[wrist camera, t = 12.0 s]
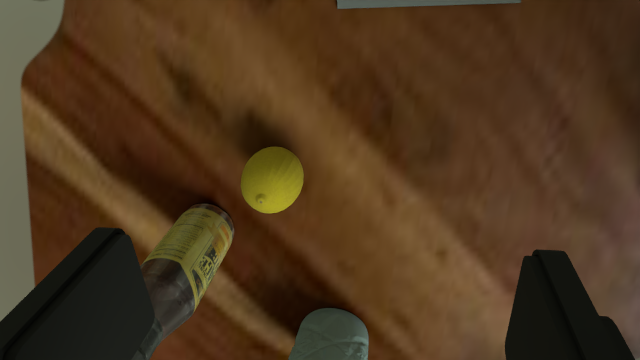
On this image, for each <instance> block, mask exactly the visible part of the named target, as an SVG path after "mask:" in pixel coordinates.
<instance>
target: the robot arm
mask: <svg viewBox="0 0 640 360" xmlns="http://www.w3.org/2000/svg"><path fill="white" fill-rule="evenodd" d="M154 318H155V313H154V309H153V306H152V303H151V300H150V296H149V293H148V290H147V287H146V284H145V281H144V278H143V275H142V272H141V268H140V265H139V262H138V259H137V256H136V253H135V250H134V247H133V244H132V240H131V238H130V237H129V236H128V235H126V234H125V232H124V231H123V230H122V229H119V228H101V227H99V228H96V229H94V230H93V231H92V232H91V233H90V234H89V235H88V236H87V237H86V238H85V239H84V240H83V241H82V242H81V243H80V244H79V245H78V246H77V247H76V248H75V249H74V250H73V251H72V252H71V253H70V254H69V255H67V256H66V257H65V258H64V259H63V260H62V261H61V262H60V263H59V264H58V265H57V266H56V267H55V268H54V269H53V270H52V271H51V272H50V273H49V274H48V275H47V276H46V277H45V278H44V279H43V280H42V281H41V282H40V283H39V284H38V285H37V286H36V287H35V288H34V289H33V290H32V291H31V292H30V293H29V294H28V295H27V296H26V297H25V298H24V299H23V300H22V301H21V302H20V303H19V304H18V305H17V306H16V307H15V308H14V309H13V310H12V311H11V312H10V313H9V314H8V315H7V316H6V317H5V318H4V319H3V320H2V321H1V322H0V360H132V358H133V356H134V355H135V353H136V352H137V350H138V348H139V347H140V345H141V344H142V342H143V340H144V339H145V337H146V335H147V334H148V332H149V331H150V329H151V327H152V325H153V323H154ZM505 354H506V360H635V358H634V357H633V355H632V353H631V351H630V349H629V348H628V346H627V344H626V342H625V340H624V338H623V337H622V335H621V333H620V331H619V329H618V328H617V326H616V324H615V323H614V322H613V320H612V319H610V318H609V317H606V316H599V315H598V313H597V311H596V309H595V307H594V306H593V304H592V302H591V300H590V298H589V296H588V294H587V292H586V290H585V288H584V286H583V284H582V282H581V280H580V278H579V277H578V275H577V273H576V271H575V269H574V267H573V265H572V263H571V261H570V259H569V257H568V255H567V254H566V252H564V251H555V250H534V252H533V254H532V256H525V257H524V258H523V262H522V266H521V271H520V276H519V280H518V285H517V289H516V294H515V299H514V303H513V308H512V313H511V317H510V322H509V326H508V331H507V336H506V341H505Z"/></svg>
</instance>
